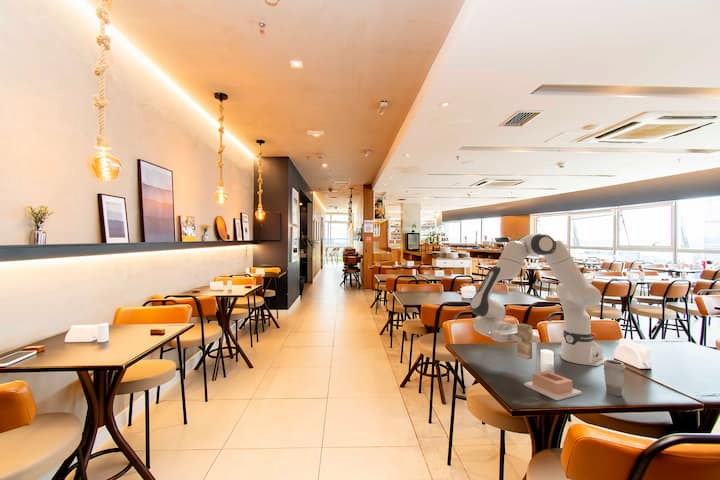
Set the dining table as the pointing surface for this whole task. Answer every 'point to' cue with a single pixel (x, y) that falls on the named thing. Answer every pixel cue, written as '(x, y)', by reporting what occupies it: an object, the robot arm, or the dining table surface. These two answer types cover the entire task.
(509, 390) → the dining table surface
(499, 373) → the dining table surface
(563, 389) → the pink slotted holder
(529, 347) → the slat
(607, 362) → the cup
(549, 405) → the dining table surface
